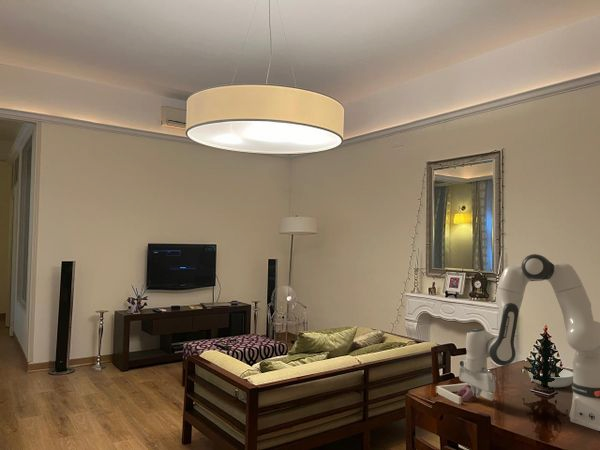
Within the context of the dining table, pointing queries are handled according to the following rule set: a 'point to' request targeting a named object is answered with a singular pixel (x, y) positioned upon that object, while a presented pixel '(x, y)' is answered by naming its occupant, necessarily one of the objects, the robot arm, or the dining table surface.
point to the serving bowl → (558, 379)
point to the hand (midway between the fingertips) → (476, 396)
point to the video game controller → (466, 392)
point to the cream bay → (447, 390)
